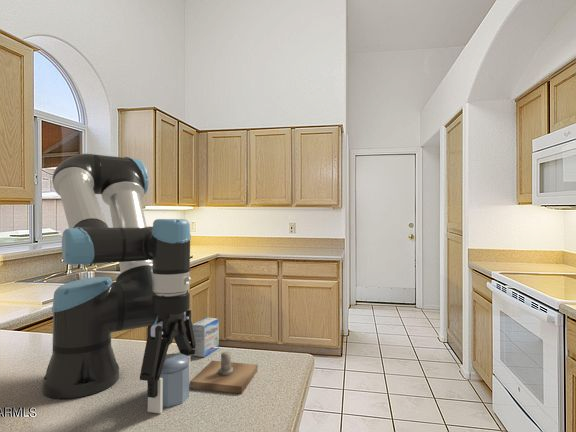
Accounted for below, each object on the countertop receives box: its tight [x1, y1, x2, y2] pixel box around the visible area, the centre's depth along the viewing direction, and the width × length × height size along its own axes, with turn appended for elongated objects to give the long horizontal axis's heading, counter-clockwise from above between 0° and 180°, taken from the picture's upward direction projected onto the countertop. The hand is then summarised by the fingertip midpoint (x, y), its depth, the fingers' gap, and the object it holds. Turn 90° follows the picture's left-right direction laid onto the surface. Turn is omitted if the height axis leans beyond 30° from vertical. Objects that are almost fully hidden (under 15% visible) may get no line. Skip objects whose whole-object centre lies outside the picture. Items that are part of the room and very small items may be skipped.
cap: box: [160, 353, 190, 408], centre depth 77 cm, size 7×7×8 cm
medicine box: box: [190, 317, 220, 358], centre depth 103 cm, size 8×4×9 cm, turn 161°
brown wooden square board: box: [189, 351, 259, 394], centre depth 86 cm, size 12×12×6 cm
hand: (170, 397), depth 77 cm, fingers open, 11 cm apart
